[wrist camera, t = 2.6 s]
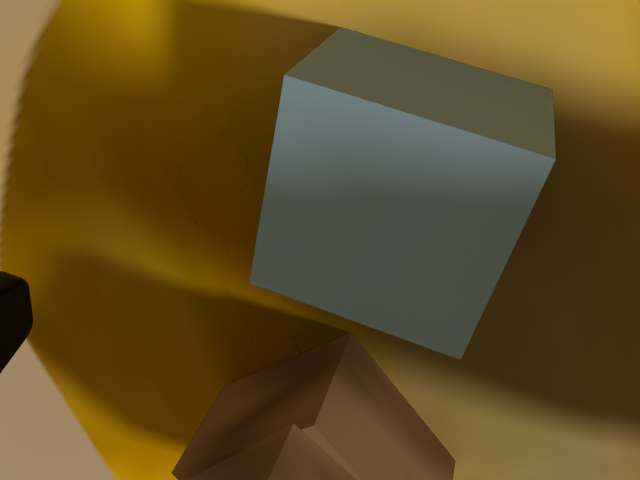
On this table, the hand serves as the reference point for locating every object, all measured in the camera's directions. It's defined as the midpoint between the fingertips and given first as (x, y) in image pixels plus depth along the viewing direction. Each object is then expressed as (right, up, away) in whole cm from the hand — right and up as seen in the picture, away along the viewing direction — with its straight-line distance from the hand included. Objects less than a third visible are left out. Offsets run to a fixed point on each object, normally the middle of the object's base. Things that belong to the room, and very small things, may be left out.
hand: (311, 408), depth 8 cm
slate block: (+2, +4, +7) cm, 9 cm away
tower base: (+1, -4, +13) cm, 14 cm away
